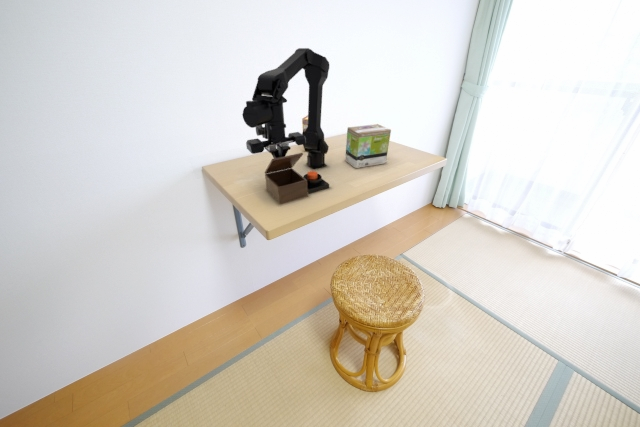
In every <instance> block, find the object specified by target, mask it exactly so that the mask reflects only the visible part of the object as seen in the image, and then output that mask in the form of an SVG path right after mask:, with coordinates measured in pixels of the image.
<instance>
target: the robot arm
mask: <svg viewBox="0 0 640 427" xmlns="http://www.w3.org/2000/svg"><path fill="white" fill-rule="evenodd" d="M301 70H304V77H305V79H306V81H307V83H308V103H307V104H308V106H307V115H308V127H307V128H306V130H305V131H303V130H302V132H300V131H295V132H289V133H288V135H287V136H286V128H287V123H285V115H284V114H285V113H284V103H287V102H288V99H287V98H285V97H284V96H283V95H284V94H285V93H286V91H287V90H288V88H289V82H290V81H291V80H292V79H294V77H295V76H296V75H297V74H298V73H300V71H301ZM329 71H330V61H328V59H327V57H326V56H323V55H321V54H319V53H317V52H316V51H315V52H314V50H312V49H311V48H309V47H299V48H297V49H295V51H294V53H292V54H291V55H290V56H289V57H287V59H285V60H284V61H283V62H282V63H281V64H280V65H278V66H277V67H276V68H274V69H271V70H267V71H265V72H263V73H261V74H260V75H258V77H257V81H256V84H255V88H254V92H253V94H252V98H251V100H247V101H245V104H246V106H244V108H243V110H242V114H241V115H242V119H243V121H244V123H245V125H247V127H249V128H252V129H253V128H255V133H256V136H257V137H259V136H261V137H262V138H263V139H265V140H260V139H259V138H251V139H247V141H246V143H245V145H246V146H245V147H246V149H247V150H248V152H250V153H251V154H253V155H255V154H260V153H264V151H265V150H266V151H267V152H268V153H269V154H270V155H272V157H273V158H272V159H274V158H279V157H284V156H287V154H288V152H289V151H290V150H291V149H292V148H291V146H290V145H289V144H291V143H295V144H296V145H297V146H303V151H304V150H305V151H304V152H307V155H306V159H307V160H306V166H308V167H309V168H311V169H312V170H316V169H321V168H324V167H327V164H326V163H325V162H326V161H325V159H326V158H325V156H326V155H327V153H328V152H329V144H327V142H326V141H325V133H324V131H323V129H322V127H321V125H322V109H323V108H322V107H323V106H322V104H323V86H324V84H325V83H326V81H327V80H328V77H329ZM263 125H264V126H263Z"/></svg>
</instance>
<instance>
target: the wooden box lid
mask: <svg viewBox="0 0 640 427" xmlns="http://www.w3.org/2000/svg"><path fill="white" fill-rule="evenodd" d="M303 155H304V153H303V152H300V153H299V152H298V153H295V154H289V155H285V156H284V157H279V158H271V160H270V162H269V163H268V166H267V167H266V169H265V170H264V175H265V174H268V173H272V172H277V171H281V170H286V169H290V168H292V169H293V168H294V166H295V165H296V164H297V162H299V160H300V159H301V158H302V156H303Z"/></svg>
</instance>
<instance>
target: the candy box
mask: <svg viewBox="0 0 640 427" xmlns="http://www.w3.org/2000/svg"><path fill="white" fill-rule="evenodd" d="M301 124H302V132H303V131H305V130H306V128H307V127H308V114H307V115H305V116H304V117H303V118H301ZM303 152H306V151H305V150H304V149H303Z"/></svg>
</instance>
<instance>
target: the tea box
mask: <svg viewBox="0 0 640 427" xmlns="http://www.w3.org/2000/svg"><path fill="white" fill-rule="evenodd" d="M391 132H392V130H391V129H390V128H388V127H385V126H383V125H381V124H378V123H377V124H367V125H357V126H348V127H347V132H346V143H345V144H346V145H345V154H344V155H345V157H344V161H345V162H346V163H348V164H349V165H350V166H352V167H353V168H354V169H359V168H364V167H371V166H378V165H385V164H386V163H387V157H388V151H389V146H390V138H391V134H392V133H391Z"/></svg>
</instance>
